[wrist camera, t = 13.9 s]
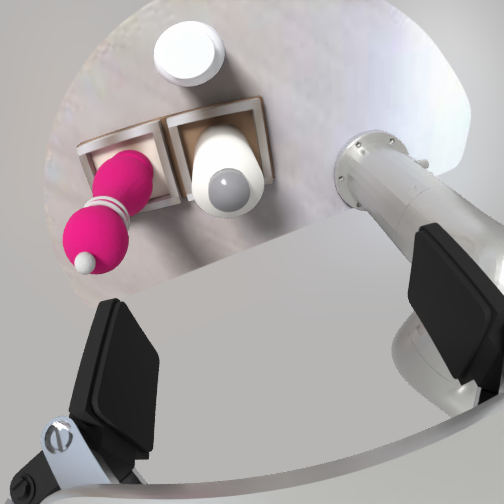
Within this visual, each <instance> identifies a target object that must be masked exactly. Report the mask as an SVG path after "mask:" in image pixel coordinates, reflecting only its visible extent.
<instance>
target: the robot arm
mask: <svg viewBox="0 0 504 504" xmlns="http://www.w3.org/2000/svg"><path fill="white" fill-rule="evenodd" d="M356 143H357V144H356ZM428 166H429V163H428V161H427V160H426V159H424V160H418V161H416V160H415V159H413V158H412V157H410V156H409V154H408V151H407V149H406V147H405V146H404V144H403V143H402V142H401V141H400V140H399V139H398V138H396V137H395V136H393V135H392V134H390V133H387V132H384V131H368V132H365V133H362V134H360V135H358V136H356V137H354V138H353V139H352V140H351V141H349V142H348V143H347V145H346V146H345V147H344V148H343V149H342V151H341V153H340V154H339V156H338V159H337V161H336V165H335V170H334V181H335V186H336V188H337V191H338V193H339V194H340V196H341V197H342V199H343V200H344V201H345V202H346V203H347V204H349V205H350V206H351V207H353V208H355V209H358V210H364V211H368V213H369V214H370V215H371V216H372V217H373V218H374V220H375V221H376V222H377V223H378V224H379V226H380V227H381V228H382V229H383V230H384V231H385V233H386V234H387V235H388V236H389V237H390V239H391V240H392V241H393V242H394V244H395V245H396V246H397V247H398V249H399V250H400V251H401V252H402V253H403V255H404V256H405V257H406V258H407V260H408V261H410V262H411V263H412V266H411V274H410V282H409V288H408V299H409V302H410V304H411V306H412V307H413V309H414V312H413V313H412V314H411V315H410V316H409V318H408V319H407V320H406V321H405V322H404V324H403V325H402V326H401V328H400V329H399V330H398V332H397V333H396V335H395V337H394V340H393V343H392V358H393V361H394V363H395V366H396V368H397V369H398V371H399V373H400V374H401V375H402V377H403V378H404V379H405V380H406V381H407V382H408V383H409V384H410V385H411V386H412V387H413V388H414V389H415V390H416V391H417V392H419V393H420V394H421V395H422V396H424V397H425V398H426V399H428V400H429V401H430V402H431V403H433V404H434V405H436V406H437V407H438V408H440V409H441V410H442V411H444V412H445V413H446V414H448V415H449V416H450V417H452V418H451V419H449V420H447V421H445V422H442V423H440V424H438V425H436V426H433V427H431V428H429V429H426V430H424V431H422V432H419V433H417V434H414V435H412V436H409V437H407V438H404V439H401V440H399V441H396V442H393V443H390V444H388V445H385V446H382V447H379V448H376V449H373V450H370V451H367V452H363V453H360V454H357V455H353V456H351V457H347V458H343V459H339V460H336V461H332V462H328V463H324V464H320V465H316V466H311V467H307V468H302V469H298V470H293V471H288V472H282V473H277V474H271V475H265V476H259V477H252V478H245V479H237V480H227V481H217V482H205V483H187V484H150V485H149V484H147V482H146V481H145V480H144V479H143V477H142V476H141V475H140V474H139V472H138V471H137V470H136V469H135V467H134V465H135V460H138V459H139V460H140V459H142V460H143V459H149V452H150V451H152V449H153V443H154V424H155V410H156V395H157V384H158V372H159V356H158V354H157V352H156V350H155V349H154V347H153V346H152V344H151V343H150V341H149V340H148V338H147V337H146V335H145V334H144V332H143V331H142V329H141V328H140V326H139V325H138V323H137V321H136V320H135V318H134V317H133V315H132V313H131V312H130V310H129V309H128V307H127V305H126V304H125V303H124V302H120V300H119V299H117V298H114V299H110V300H105V301H101V302H100V303H99V305H98V308H97V311H96V314H95V317H94V320H93V323H92V326H91V329H90V333H89V336H88V339H87V343H86V346H85V349H84V353H83V356H82V360H81V363H80V367H79V371H78V374H77V378H76V382H75V386H74V390H73V394H72V398H71V402H70V407H69V412H70V415H69V418H68V417H66V416H59V417H55V418H54V419H52V420H51V421H50V422H49V423H48V424H47V425H46V426H45V428H44V430H43V432H42V435H41V446H42V451H41V452H40V453H39V454H38V455H36V456H35V457H34V458H33V459H32V460H31V461H30V462H29V463H28V464H27V465H26V466H24V467H23V468H22V469H21V470H20V471H19V472H18V473H17V474H16V475H15V476H14V477H13V480H12V482H11V485H10V495H11V498H12V500H10V499H7V501H6V503H5V504H504V225H502V224H501V223H499V222H497V221H496V220H494V219H493V218H491V217H490V216H488V215H486V214H485V213H483V212H482V211H480V210H479V209H478V208H477V207H475V206H474V205H473V204H471V203H470V202H469V201H467V200H466V199H465V198H463V197H462V196H461V195H459V194H458V193H457V192H456V191H454V190H453V189H451V188H450V187H449V186H448V185H446V184H445V183H444V182H442V181H441V180H440V179H438V178H437V177H435V176H434V175H433V174H432V172H429V171H427V170H426V169H425V168H428ZM340 176H341V177H340ZM339 177H340V178H339Z"/></svg>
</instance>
